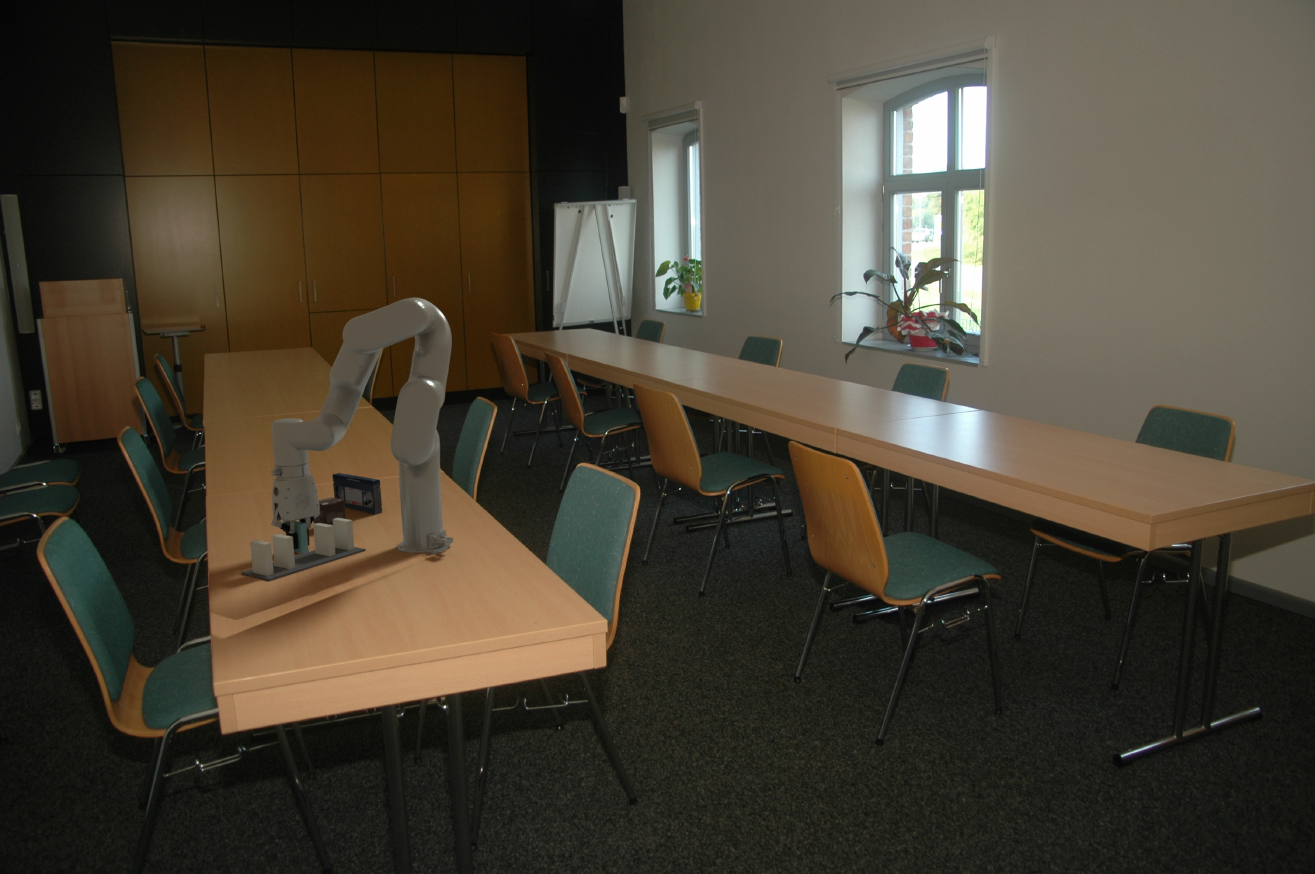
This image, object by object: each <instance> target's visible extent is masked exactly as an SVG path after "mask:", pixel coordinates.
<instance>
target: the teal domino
mask: <svg viewBox="0 0 1315 874" xmlns="http://www.w3.org/2000/svg"><path fill="white" fill-rule="evenodd" d="M288 525H289V523H288ZM294 526H295V533H297V538H298V549H294V553H299V554H303V553H307V552H310V551H309V546H308V538H307V525H306V523H303V522H299V520H296V521H294Z"/></svg>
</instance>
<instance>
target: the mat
mask: <svg viewBox="0 0 1315 874" xmlns="http://www.w3.org/2000/svg"><path fill="white" fill-rule="evenodd" d="M365 551H366V548H364V547H363V548H362V547H357V546H354V549H352V550H344V549H339V548H335V555H333V556H326V555H321V554H316V551H315V549H314V550H310V551H309V552H306V553H299V554H297V555H294V559H295V567H294V568H291V569H286V568H282V567H278V566H275V563H274V561H273V572H274V574H272V575H268V576H266V575H262V574H257V573H253V568H251V569H250V568H249V569H246V570H244V571H240V574H241V575H244V576H248V577H252V578H256V579H261V580H264V581H269V582H271V581H274V580H277V579H280V578H284V577H286V576H290V575H293V574H296V573H299V572H303V571H305V570H308V569H312V568H315V567H318V566H320V565H324V564H325V565H326V564H328V563H331V562H334V561H337V560H341V559H344V558H346V557H350V556H353V555H356V554H360V553H362V552H365Z"/></svg>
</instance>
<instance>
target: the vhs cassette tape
mask: <svg viewBox="0 0 1315 874" xmlns="http://www.w3.org/2000/svg"><path fill="white" fill-rule="evenodd" d="M332 481H333V483H332V484H333V496H334V497H333V498H337V499H341V500H344V503H345V509H346V508H347V509H350V510H355V511H359V512H363V513H367V514H372V515H375V516H376V515H378V514H383V504H382V502H383V501H382V491H381V490H382V489H381V479H378V478H373V477H366V476H360V475H354V474H348V473H340V472H338V473H333V474H332Z"/></svg>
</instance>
